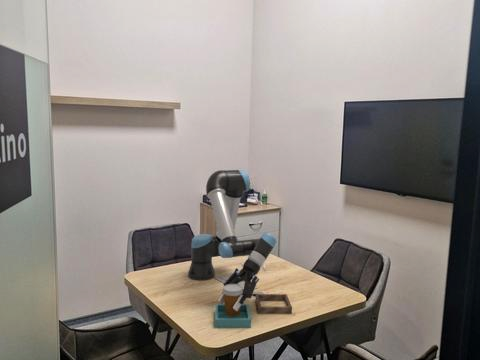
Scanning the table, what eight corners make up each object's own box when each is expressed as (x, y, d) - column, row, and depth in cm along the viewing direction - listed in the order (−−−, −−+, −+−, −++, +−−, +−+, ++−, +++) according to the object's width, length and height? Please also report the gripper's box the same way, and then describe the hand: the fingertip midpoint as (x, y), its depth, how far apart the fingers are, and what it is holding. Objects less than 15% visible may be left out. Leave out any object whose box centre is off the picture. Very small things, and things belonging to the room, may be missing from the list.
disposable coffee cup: (246, 311, 186) (247, 285, 184) (237, 320, 177) (238, 293, 176) (227, 307, 190) (228, 282, 188) (218, 315, 181) (218, 289, 180)
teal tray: (214, 327, 176) (215, 319, 176) (215, 311, 191) (215, 304, 191) (250, 327, 177) (251, 319, 176) (248, 311, 192) (248, 304, 192)
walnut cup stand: (258, 313, 190) (258, 307, 190) (255, 299, 205) (255, 294, 205) (291, 313, 191) (292, 307, 190) (286, 299, 206) (286, 294, 206)
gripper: (275, 273, 184) (248, 318, 175) (241, 261, 200) (216, 302, 191) (267, 265, 180) (239, 310, 171) (234, 253, 195) (207, 294, 187)
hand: (227, 305), depth 181 cm, fingers closed on disposable coffee cup, 9 cm apart
